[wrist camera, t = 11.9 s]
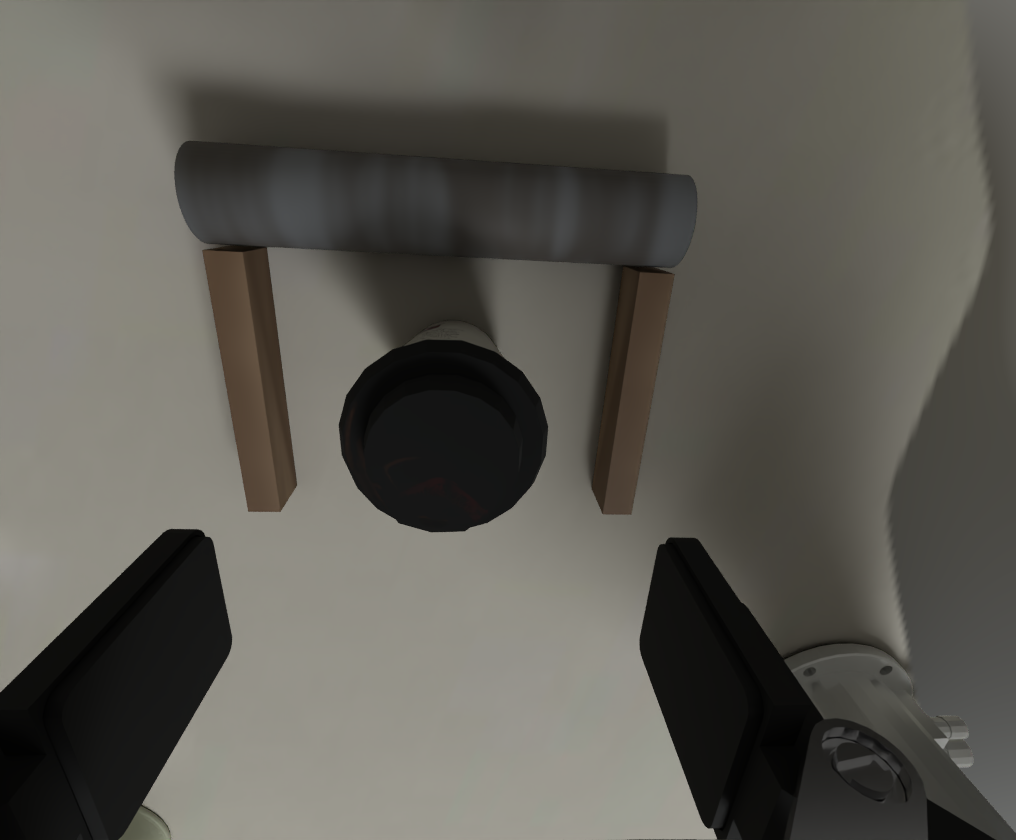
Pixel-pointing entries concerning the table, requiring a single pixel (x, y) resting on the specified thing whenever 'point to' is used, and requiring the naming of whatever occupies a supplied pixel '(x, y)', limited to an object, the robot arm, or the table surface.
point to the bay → (427, 231)
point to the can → (146, 827)
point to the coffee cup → (443, 430)
